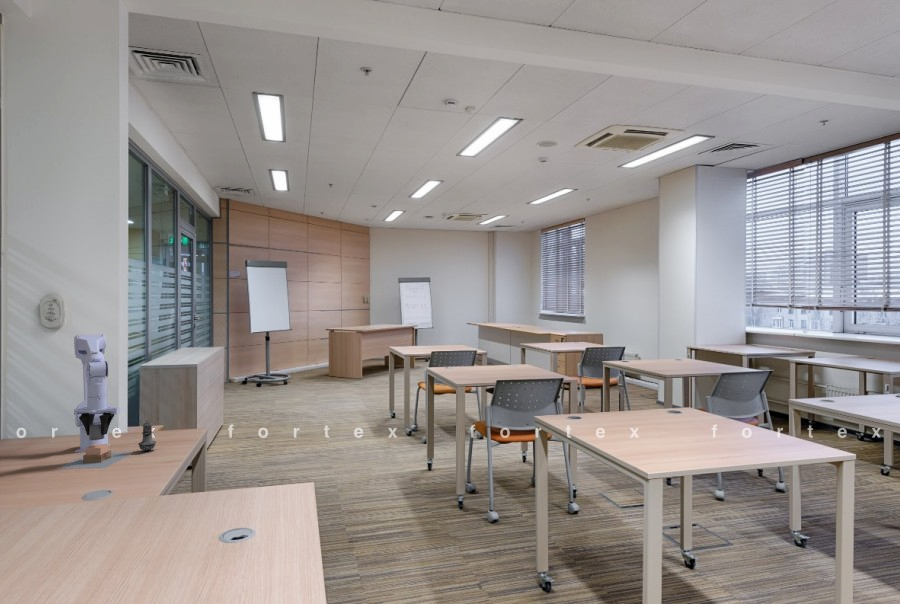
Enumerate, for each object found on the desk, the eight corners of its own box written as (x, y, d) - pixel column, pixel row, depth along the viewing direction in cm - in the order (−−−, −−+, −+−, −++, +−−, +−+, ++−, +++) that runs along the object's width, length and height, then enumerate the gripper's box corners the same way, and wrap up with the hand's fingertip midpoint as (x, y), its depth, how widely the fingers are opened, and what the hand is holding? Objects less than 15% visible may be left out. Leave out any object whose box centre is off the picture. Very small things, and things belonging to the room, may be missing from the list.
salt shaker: (142, 455, 189) (142, 422, 189) (135, 452, 193) (135, 420, 193) (159, 451, 194) (159, 419, 194) (152, 449, 198) (152, 417, 198)
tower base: (93, 457, 186) (93, 450, 186) (111, 457, 186) (111, 450, 186) (83, 462, 180) (83, 455, 180) (101, 462, 180) (101, 455, 180)
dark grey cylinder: (94, 437, 185) (94, 423, 185) (107, 437, 185) (107, 423, 185) (86, 440, 180) (86, 426, 180) (99, 440, 180) (99, 425, 180)
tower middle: (94, 451, 185) (94, 444, 185) (109, 450, 185) (109, 443, 185) (85, 455, 180) (85, 448, 180) (100, 454, 180) (100, 447, 180)
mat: (89, 454, 191) (89, 453, 191) (134, 453, 192) (134, 452, 192) (56, 469, 173) (56, 468, 173) (105, 468, 174) (105, 467, 174)
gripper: (67, 398, 178) (68, 437, 178) (111, 397, 179) (111, 437, 179) (81, 394, 185) (81, 432, 185) (123, 394, 186) (123, 432, 186)
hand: (97, 434), depth 183 cm, fingers closed on dark grey cylinder, 4 cm apart
